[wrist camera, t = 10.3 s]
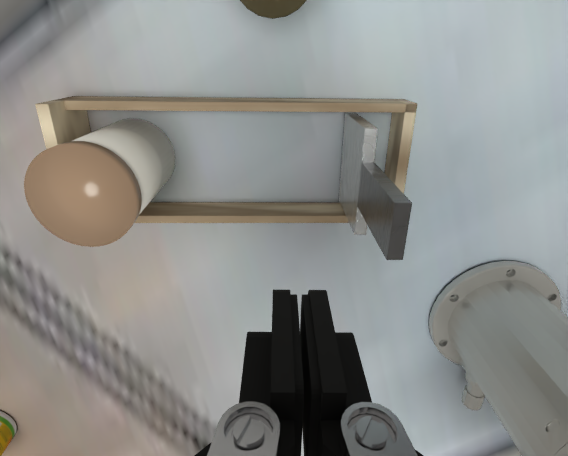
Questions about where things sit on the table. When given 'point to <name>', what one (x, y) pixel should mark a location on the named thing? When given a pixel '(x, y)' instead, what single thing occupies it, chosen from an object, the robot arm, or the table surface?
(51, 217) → the jar
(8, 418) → the supplement bottle
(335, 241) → the table surface
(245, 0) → the olive brown waisted cylinder
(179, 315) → the table surface
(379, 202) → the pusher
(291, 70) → the table surface
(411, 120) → the wooden tray
